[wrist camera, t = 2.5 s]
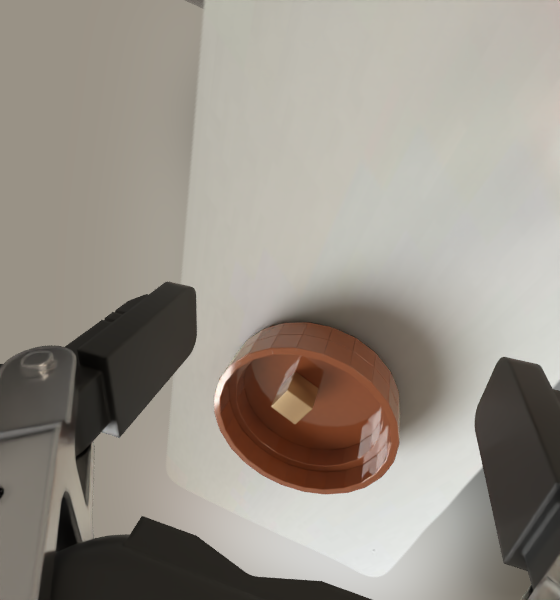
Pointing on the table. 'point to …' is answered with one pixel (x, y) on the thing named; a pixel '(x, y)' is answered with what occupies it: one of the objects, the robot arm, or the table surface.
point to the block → (295, 398)
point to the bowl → (321, 419)
